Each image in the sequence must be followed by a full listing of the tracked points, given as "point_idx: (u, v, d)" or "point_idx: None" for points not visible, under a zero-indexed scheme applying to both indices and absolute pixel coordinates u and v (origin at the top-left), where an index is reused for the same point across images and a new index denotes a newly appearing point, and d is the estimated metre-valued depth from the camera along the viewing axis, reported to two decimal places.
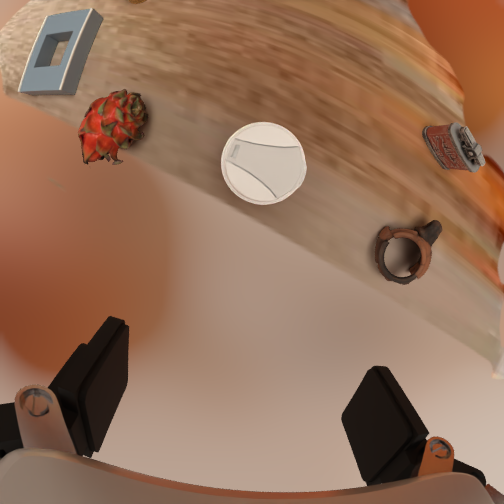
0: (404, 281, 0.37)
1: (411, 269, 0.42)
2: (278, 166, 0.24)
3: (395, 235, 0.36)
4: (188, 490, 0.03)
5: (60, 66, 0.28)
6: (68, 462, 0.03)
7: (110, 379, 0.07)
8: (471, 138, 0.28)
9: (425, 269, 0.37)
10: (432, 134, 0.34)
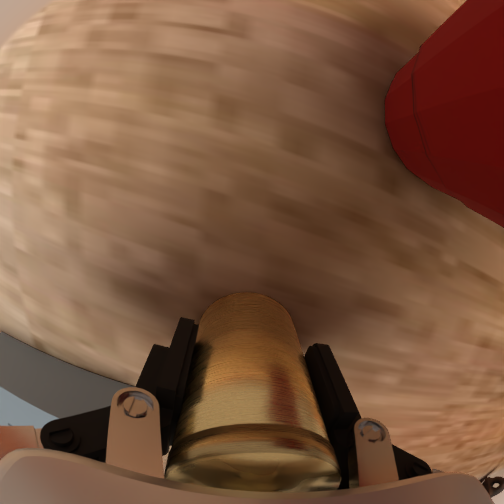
0: None
1: None
2: None
3: None
4: (187, 490, 0.03)
5: None
6: (68, 462, 0.03)
7: None
8: None
9: None
10: None
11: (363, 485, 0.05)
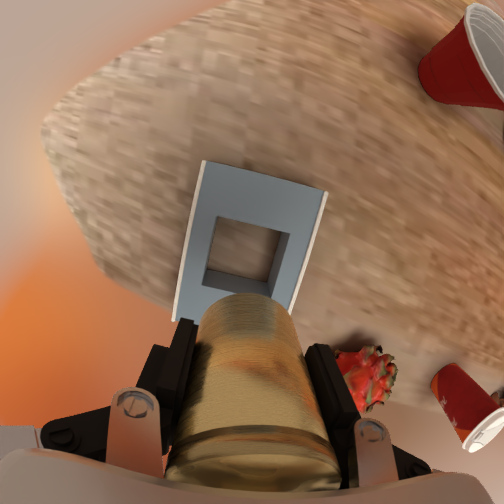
0: None
1: None
2: (493, 433, 0.21)
3: (503, 405, 0.34)
4: (188, 490, 0.03)
5: None
6: (68, 462, 0.03)
7: None
8: None
9: None
10: None
11: (363, 485, 0.05)
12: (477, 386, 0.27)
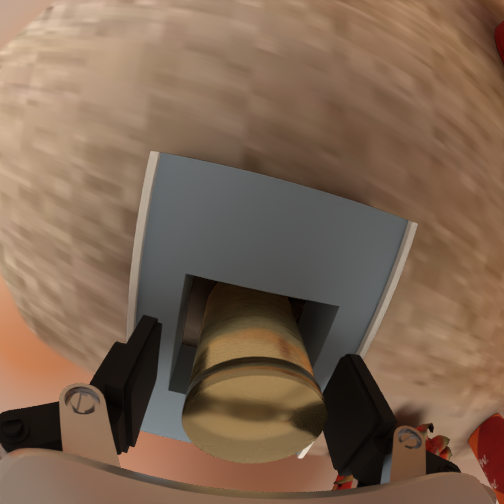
0: None
1: None
2: None
3: None
4: (188, 490, 0.03)
5: None
6: (68, 462, 0.03)
7: (147, 375, 0.08)
8: None
9: None
10: None
11: None
12: None
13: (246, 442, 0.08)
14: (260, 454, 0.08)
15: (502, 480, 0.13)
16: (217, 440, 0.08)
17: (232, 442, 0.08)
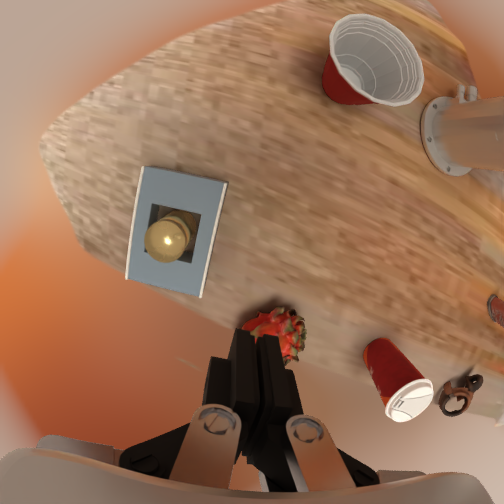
0: (454, 415, 0.44)
1: (457, 396, 0.50)
2: (419, 405, 0.31)
3: (455, 394, 0.44)
4: (188, 490, 0.03)
5: (192, 265, 0.34)
6: (68, 462, 0.03)
7: None
8: None
9: None
10: (495, 307, 0.41)
11: None
12: (403, 358, 0.36)
13: (162, 249, 0.29)
14: (167, 257, 0.30)
15: (382, 385, 0.35)
16: (154, 249, 0.29)
17: (158, 250, 0.29)
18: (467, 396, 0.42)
